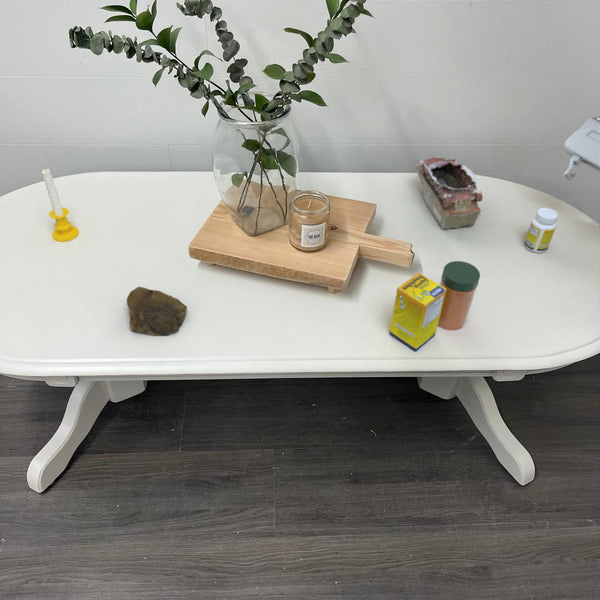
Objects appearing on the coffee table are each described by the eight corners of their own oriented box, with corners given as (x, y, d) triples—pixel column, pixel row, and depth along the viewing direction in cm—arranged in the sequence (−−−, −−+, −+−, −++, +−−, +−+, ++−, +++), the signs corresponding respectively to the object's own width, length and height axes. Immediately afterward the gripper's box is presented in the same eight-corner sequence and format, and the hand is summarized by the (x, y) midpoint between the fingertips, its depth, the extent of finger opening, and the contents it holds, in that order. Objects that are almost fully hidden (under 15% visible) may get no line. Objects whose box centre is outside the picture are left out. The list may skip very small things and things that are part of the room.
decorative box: (417, 234, 123) (425, 195, 116) (397, 185, 137) (403, 148, 131) (477, 232, 124) (488, 194, 117) (451, 184, 138) (459, 147, 132)
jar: (470, 328, 102) (485, 284, 95) (438, 332, 101) (450, 287, 94) (458, 305, 106) (471, 261, 99) (427, 308, 105) (438, 265, 98)
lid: (483, 289, 96) (485, 282, 95) (449, 293, 95) (451, 285, 94) (469, 267, 100) (471, 259, 99) (436, 270, 99) (438, 262, 98)
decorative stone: (193, 303, 105) (191, 289, 103) (176, 340, 98) (174, 325, 96) (138, 296, 106) (135, 282, 104) (118, 331, 99) (114, 317, 97)
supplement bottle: (548, 243, 121) (561, 210, 116) (545, 256, 118) (559, 222, 112) (525, 237, 123) (537, 204, 117) (521, 249, 119) (534, 216, 114)
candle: (58, 244, 117) (36, 177, 106) (48, 232, 120) (26, 166, 109) (82, 235, 119) (63, 169, 109) (72, 224, 122) (53, 158, 112)
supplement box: (408, 318, 103) (418, 271, 96) (435, 335, 100) (448, 288, 93) (387, 334, 100) (396, 287, 93) (415, 352, 97) (426, 305, 90)
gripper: (590, 105, 117) (541, 158, 120) (680, 148, 104) (623, 207, 107) (597, 121, 122) (549, 172, 125) (684, 164, 109) (629, 220, 112)
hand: (584, 188), depth 116 cm, fingers open, 8 cm apart
